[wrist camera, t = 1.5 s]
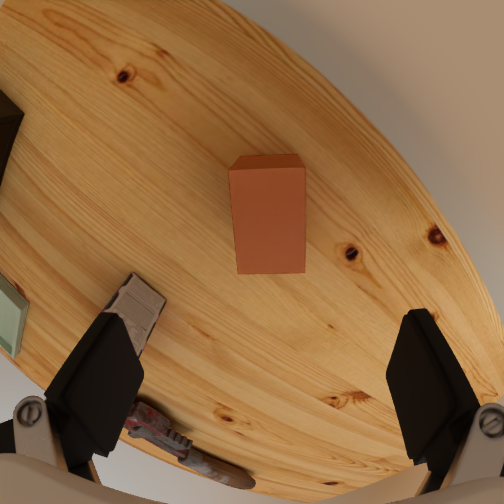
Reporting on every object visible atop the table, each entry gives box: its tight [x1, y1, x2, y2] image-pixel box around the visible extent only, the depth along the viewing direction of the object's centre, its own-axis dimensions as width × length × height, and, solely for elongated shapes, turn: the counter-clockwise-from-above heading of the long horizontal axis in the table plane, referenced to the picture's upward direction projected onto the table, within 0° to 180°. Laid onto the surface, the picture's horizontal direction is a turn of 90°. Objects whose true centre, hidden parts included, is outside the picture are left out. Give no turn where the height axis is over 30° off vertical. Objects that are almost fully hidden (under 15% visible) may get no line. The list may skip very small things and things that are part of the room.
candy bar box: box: [44, 272, 167, 402], centre depth 23 cm, size 11×5×16 cm, turn 137°
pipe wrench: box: [123, 402, 256, 489], centre depth 41 cm, size 40×12×5 cm, turn 43°
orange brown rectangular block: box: [228, 154, 306, 274], centre depth 21 cm, size 7×4×6 cm, turn 4°
